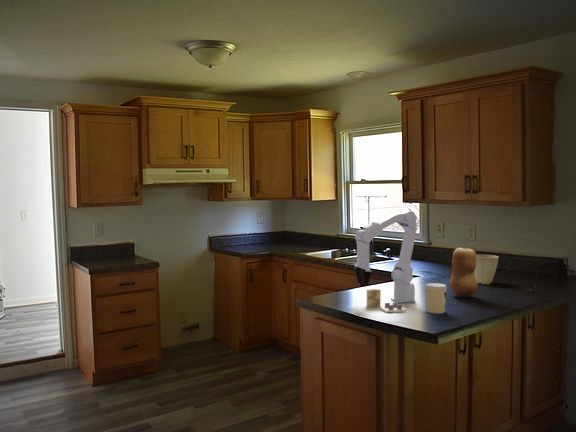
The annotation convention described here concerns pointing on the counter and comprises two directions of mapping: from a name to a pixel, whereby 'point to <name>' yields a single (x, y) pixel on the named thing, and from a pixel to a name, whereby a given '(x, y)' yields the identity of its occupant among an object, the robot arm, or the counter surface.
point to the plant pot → (485, 268)
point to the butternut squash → (463, 272)
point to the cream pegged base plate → (393, 308)
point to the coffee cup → (435, 297)
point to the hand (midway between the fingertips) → (362, 284)
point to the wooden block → (373, 297)
